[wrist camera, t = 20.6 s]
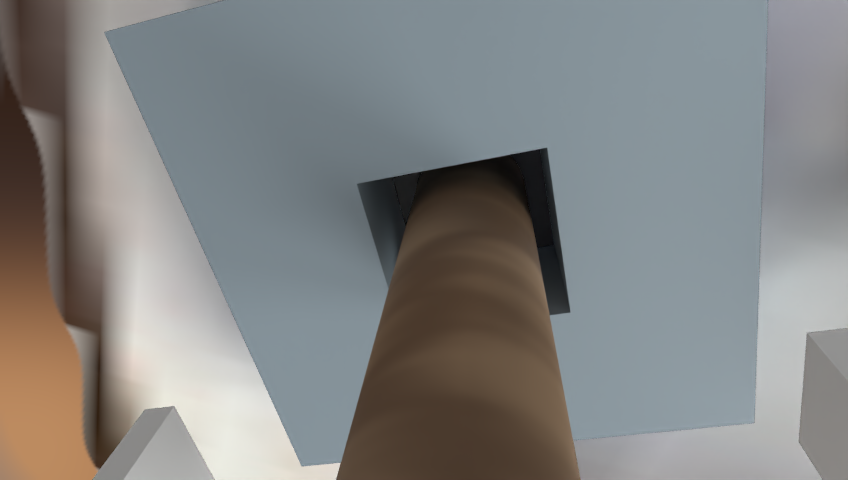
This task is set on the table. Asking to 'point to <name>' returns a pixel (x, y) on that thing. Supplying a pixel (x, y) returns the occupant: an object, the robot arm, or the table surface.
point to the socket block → (462, 143)
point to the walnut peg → (464, 344)
